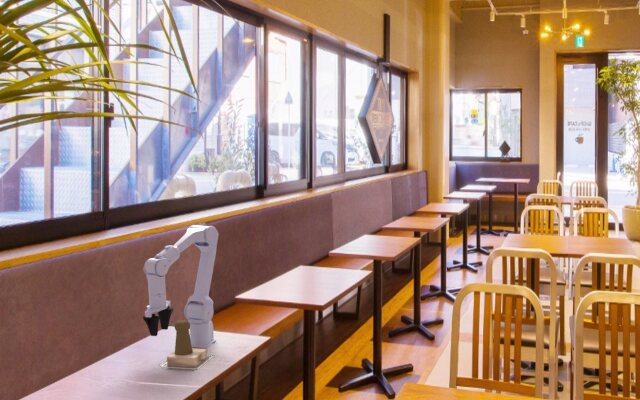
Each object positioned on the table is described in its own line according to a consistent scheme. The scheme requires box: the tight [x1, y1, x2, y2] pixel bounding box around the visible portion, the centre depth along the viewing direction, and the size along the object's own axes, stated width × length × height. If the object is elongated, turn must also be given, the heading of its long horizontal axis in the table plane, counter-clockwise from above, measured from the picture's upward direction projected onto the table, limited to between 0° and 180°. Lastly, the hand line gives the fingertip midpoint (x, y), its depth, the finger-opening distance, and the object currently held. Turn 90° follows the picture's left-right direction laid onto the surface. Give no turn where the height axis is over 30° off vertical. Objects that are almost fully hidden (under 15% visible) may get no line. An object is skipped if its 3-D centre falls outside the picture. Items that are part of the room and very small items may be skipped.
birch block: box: [166, 347, 208, 367], centre depth 227 cm, size 10×10×3 cm
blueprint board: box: [155, 354, 215, 372], centre depth 228 cm, size 16×15×1 cm
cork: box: [174, 319, 193, 355], centre depth 227 cm, size 6×6×11 cm
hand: (159, 332), depth 229 cm, fingers open, 7 cm apart
